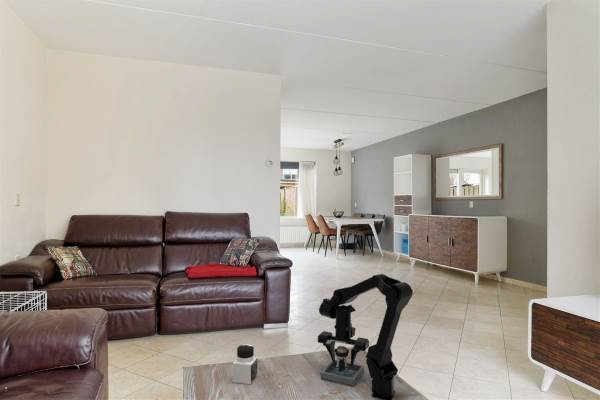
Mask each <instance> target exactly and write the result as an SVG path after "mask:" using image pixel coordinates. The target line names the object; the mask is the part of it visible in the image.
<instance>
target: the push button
mask: <svg viewBox="0 0 600 400" xmlns="http://www.w3.org/2000/svg"><path fill="white" fill-rule="evenodd" d="M349 354H350V350H349V349H348V347H346V346H345V345H339V346H337V347H336V348H335V357H336V360H337V365H336V366H335V374H336V375H340V376H348V374H352V372H348V371H352V370H348V367H347V363H348V361H347V359H348V358H347V357H348V356H349Z"/></svg>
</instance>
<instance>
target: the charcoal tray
mask: <svg viewBox="0 0 600 400" xmlns="http://www.w3.org/2000/svg"><path fill="white" fill-rule="evenodd" d="M336 365H337V359H335V362H333V361H332V360H331V361H330V363H328V364H327V366H325V368H323V370H321V372H320V380H322V381H326V382H327V381H328V382H332V383H337V384H339V385H345V386H348V387H349V386H350V387H352V388H354V387H355V386H356V384H357V383H358V381H359V380H360V379H361V377H362V376H363V375H364V373H365V365H363V364H357V363H353V366H351V362H347V367H348V370H352V371H348V372H352V374H348V376H340V375H336V374H335V366H336Z"/></svg>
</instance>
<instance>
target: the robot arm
mask: <svg viewBox="0 0 600 400" xmlns="http://www.w3.org/2000/svg"><path fill="white" fill-rule="evenodd" d="M374 289H377V290H378V291H379V292H380V294H381V295H383V296H385V303H386V309H385V313H384V316H383V320H382V323H381V327H380V330H379V332H378V333H379V334H378V337H377V341H376V343H375V344H373V345H370V341H369V338H365V337H360V336H359V337H357V338H356V339H354V338H353V337H355V335H356V327H354V326H353V324H352V321H351V319H352V316H351V315H352V313H355V312H356V309H355V307H354V306H353V305H352V304H350V303H352V302H354V301H355V300H356V299H358V297H359V296H360V295H363V294H365V293H368V292H370V291H372V290H374ZM412 296H413V289H412V286H411V285H410V284H409V283H407V282H404V281H400V280H399V279H395V278H392V277H390V276H387V275H386V274H383V273H379V274H375V275H374V274H373V275H372V276H371V277H369V278H367V279H364V280H362V281H360V282H358V283H356V284H354V285H352V286H347V287H346V286H345V287H343V288H337V289H335V290H333V293H332V296H331V298H330V299H329V298H323V299H322V302H321V303H320V305H319V307H318V312H319V313H318V314H320V316H323V317H326V318H329V319H332V320H335V325H334V329H335V330H334V333H335V335H333V332H331V331H330V332H329V331H327V330H326V331H325V330H324V331H322V332H321V333H319V334H318V336H317V343H319V344H322V345H323V346H324V347H325V349H326V350H327V352H328V354H329V355H330V359H331V362H332V361H333V362H335V360H336V355H335V349H336V348H335V346H336V343H339V344H346V345H351V346H352V348H351V349H350V363H351V366H353V364H355V360H356V357H357V355H358V353H360V352H365V351H366V350H367V352H366V356H364V357H365V358H366V360H365V363H366V365H367V370H368V373H369V378H370V379H371V392H372V393H371V397H373V398H375V399H376V398H377V399H381V400H393V398H394V396H395V393H396V391H395V389H394V387H395V386H394V385H395V382H394V381H395V376H397V375H398V371H399V369H398V368H397V366H396V365H395V363H394V361H393V360H392V359H393V352H392V348H391V347H392V345H393V341H394V338H395V335H396V331H397V328H398V325H399V321H400V319H401V315H402V312H403V310H405V308H406V307H407V305H408V304H409V302H410V300H411V298H412ZM345 304H346V305H345ZM347 304H348V305H347Z"/></svg>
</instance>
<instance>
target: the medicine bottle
mask: <svg viewBox="0 0 600 400" xmlns="http://www.w3.org/2000/svg"><path fill="white" fill-rule="evenodd" d="M254 348H255V347H254V346H253V345H251V344H248V343H246V344H245V343H244V344H240V345H239V346H237V348H236V358H235V360H234V361H233V362H232V383H237V384H244V385H252V384H253V382H254V381H255V379H256V378H257V377H258V356H255V355H254V354H255V353H254V352H255V349H254Z"/></svg>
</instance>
